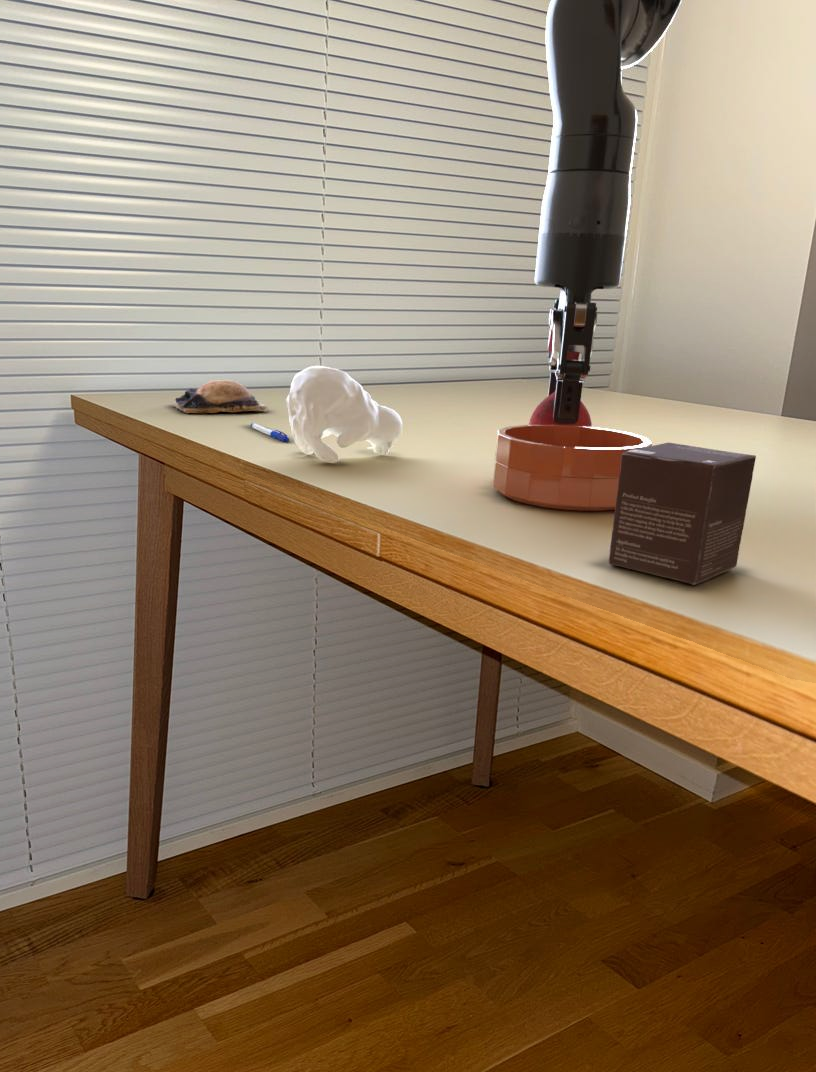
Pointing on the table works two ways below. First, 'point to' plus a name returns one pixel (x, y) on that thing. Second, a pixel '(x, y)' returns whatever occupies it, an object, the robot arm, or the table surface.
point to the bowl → (562, 465)
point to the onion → (545, 414)
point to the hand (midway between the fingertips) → (561, 417)
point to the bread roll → (218, 398)
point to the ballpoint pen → (271, 432)
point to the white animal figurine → (337, 414)
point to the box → (680, 511)
